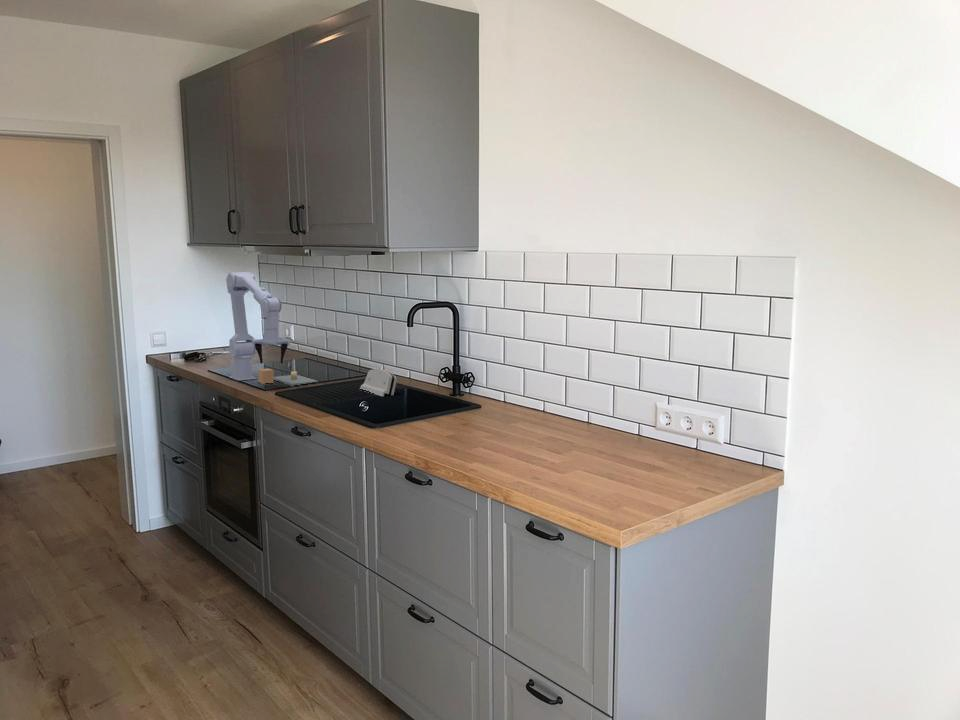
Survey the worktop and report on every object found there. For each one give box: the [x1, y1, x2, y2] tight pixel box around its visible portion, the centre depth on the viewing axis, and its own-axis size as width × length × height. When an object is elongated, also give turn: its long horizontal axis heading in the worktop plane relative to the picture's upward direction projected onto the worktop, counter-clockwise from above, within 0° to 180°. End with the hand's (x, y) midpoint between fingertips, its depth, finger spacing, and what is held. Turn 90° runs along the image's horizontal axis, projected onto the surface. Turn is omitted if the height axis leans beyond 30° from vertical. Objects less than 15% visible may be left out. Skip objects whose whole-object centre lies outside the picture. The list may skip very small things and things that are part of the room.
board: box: [274, 370, 319, 387], centre depth 326 cm, size 18×12×4 cm, turn 42°
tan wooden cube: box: [257, 368, 275, 385], centre depth 321 cm, size 5×5×6 cm
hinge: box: [359, 368, 398, 397], centre depth 309 cm, size 17×5×10 cm, turn 41°
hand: (271, 363), depth 312 cm, fingers open, 7 cm apart
